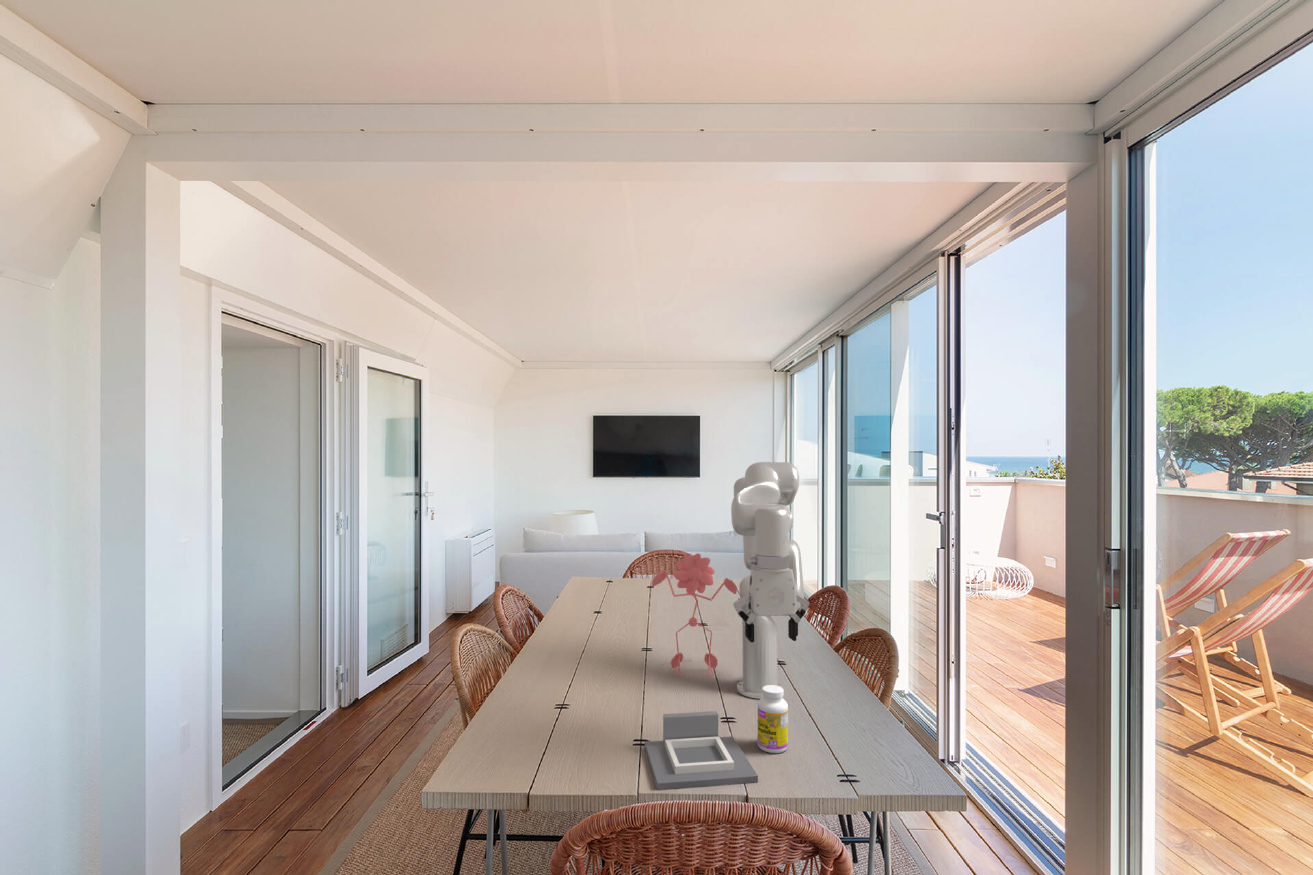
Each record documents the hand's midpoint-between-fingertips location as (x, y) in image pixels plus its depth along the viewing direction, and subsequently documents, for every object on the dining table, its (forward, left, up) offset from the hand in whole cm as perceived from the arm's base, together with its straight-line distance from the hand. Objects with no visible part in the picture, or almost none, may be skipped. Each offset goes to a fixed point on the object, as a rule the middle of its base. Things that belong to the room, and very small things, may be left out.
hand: (771, 639), depth 139 cm
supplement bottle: (0, 0, -24) cm, 24 cm away
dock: (+5, -18, -24) cm, 30 cm away
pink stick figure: (-54, -6, -24) cm, 59 cm away
